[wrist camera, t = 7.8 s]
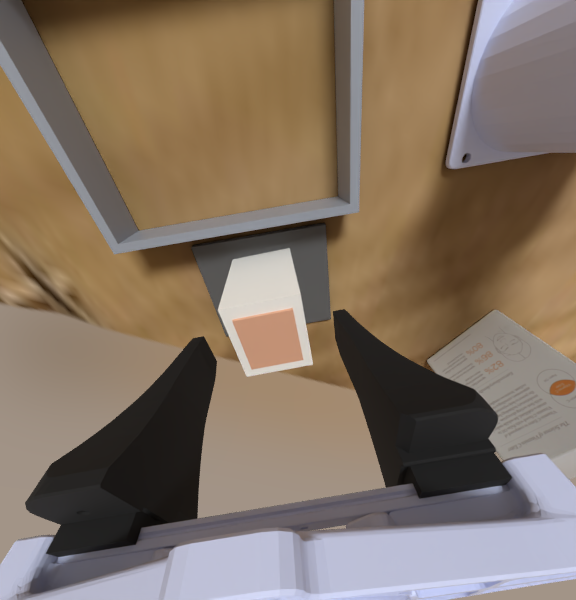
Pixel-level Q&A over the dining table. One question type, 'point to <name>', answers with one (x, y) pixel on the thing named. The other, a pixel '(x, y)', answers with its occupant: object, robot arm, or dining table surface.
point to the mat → (301, 240)
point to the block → (265, 313)
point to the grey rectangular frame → (96, 178)
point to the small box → (517, 388)
